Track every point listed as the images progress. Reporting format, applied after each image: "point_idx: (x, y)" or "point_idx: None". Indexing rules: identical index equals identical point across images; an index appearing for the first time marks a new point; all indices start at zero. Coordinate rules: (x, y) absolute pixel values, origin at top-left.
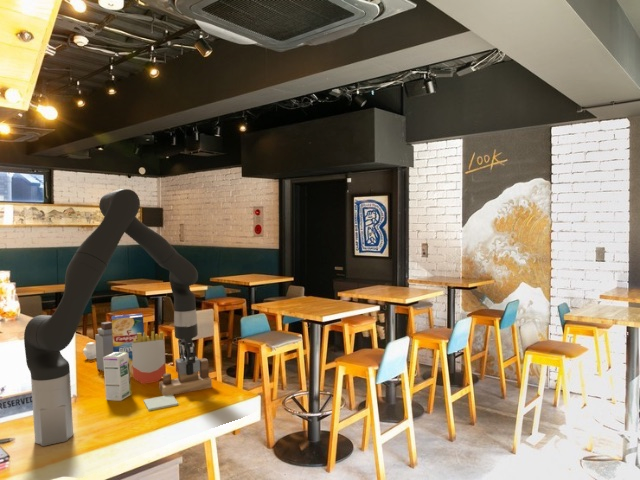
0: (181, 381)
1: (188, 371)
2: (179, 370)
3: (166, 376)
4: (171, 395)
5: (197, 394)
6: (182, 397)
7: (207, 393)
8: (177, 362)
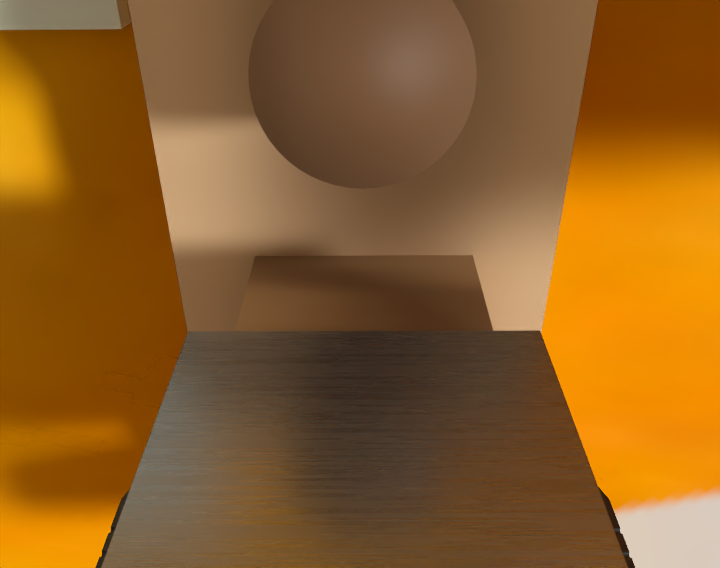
0: (254, 280)
1: (118, 517)
2: (162, 409)
3: (253, 42)
4: (64, 5)
5: (70, 333)
6: (14, 150)
7: (64, 422)
8: (290, 563)
